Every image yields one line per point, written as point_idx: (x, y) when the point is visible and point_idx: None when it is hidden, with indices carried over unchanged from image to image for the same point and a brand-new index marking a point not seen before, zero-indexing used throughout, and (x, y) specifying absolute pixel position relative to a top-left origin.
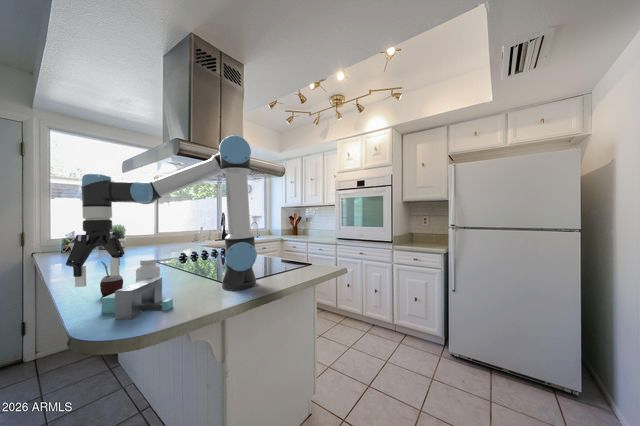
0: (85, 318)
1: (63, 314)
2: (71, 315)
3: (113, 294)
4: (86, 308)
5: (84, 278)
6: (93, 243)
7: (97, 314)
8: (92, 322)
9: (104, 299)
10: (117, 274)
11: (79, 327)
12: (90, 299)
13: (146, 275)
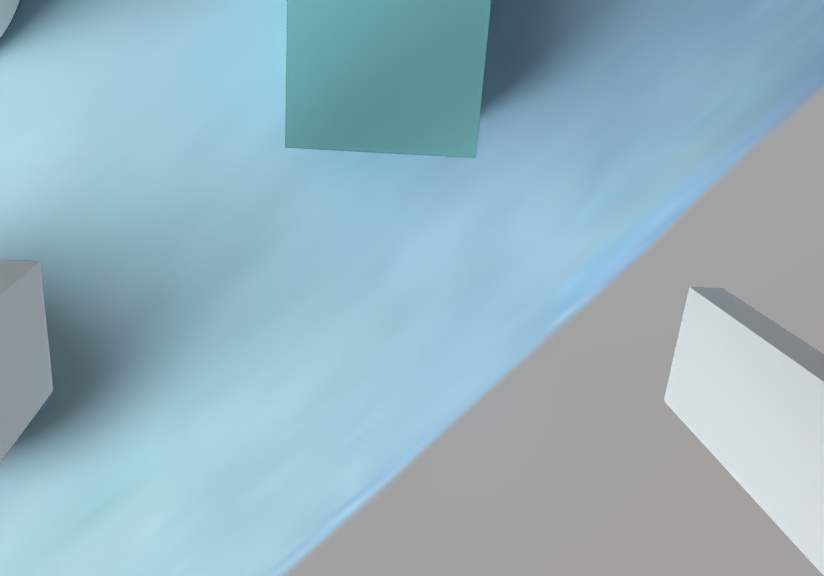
0: (555, 189)
1: (427, 444)
2: (461, 364)
3: (334, 112)
4: (299, 372)
5: (784, 337)
6: None
7: None
8: (666, 52)
9: (477, 119)
10: (35, 272)
11: (750, 87)
12: (41, 529)
13: None
